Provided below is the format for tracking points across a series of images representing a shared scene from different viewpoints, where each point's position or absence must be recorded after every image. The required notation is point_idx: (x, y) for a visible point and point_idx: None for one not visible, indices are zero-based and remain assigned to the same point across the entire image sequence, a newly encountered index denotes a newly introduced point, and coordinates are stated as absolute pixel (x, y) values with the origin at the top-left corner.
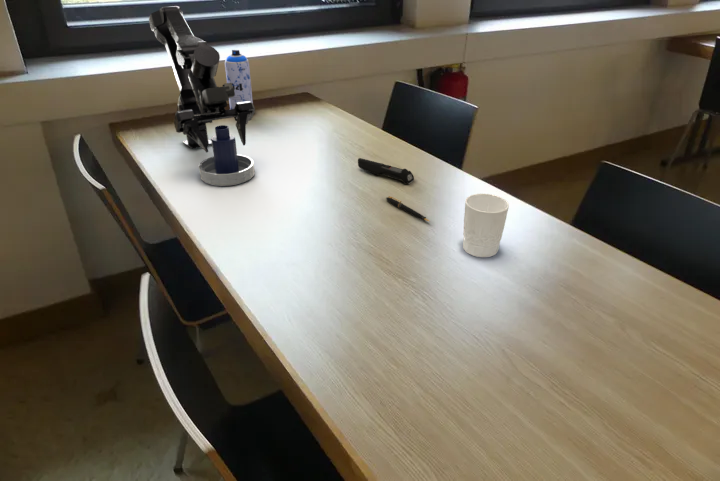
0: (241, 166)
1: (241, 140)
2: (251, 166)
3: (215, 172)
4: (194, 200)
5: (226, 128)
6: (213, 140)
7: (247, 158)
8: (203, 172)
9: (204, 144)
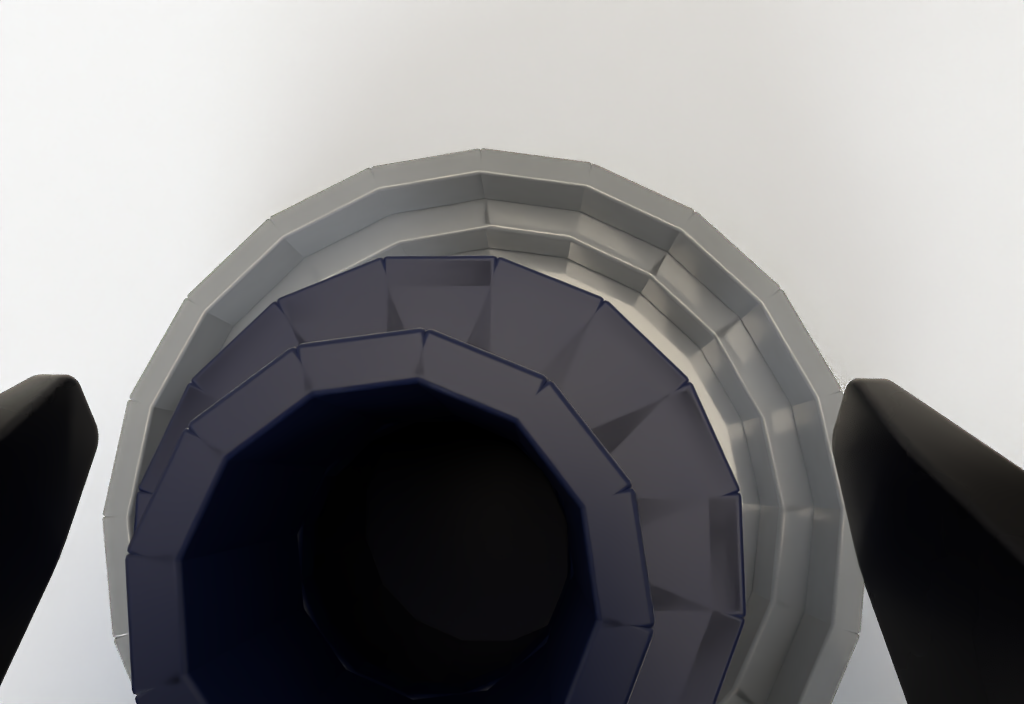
0: None
1: (47, 537)
2: (223, 261)
3: None
4: (987, 91)
5: (277, 385)
6: (725, 465)
7: None
8: None
9: (951, 447)
